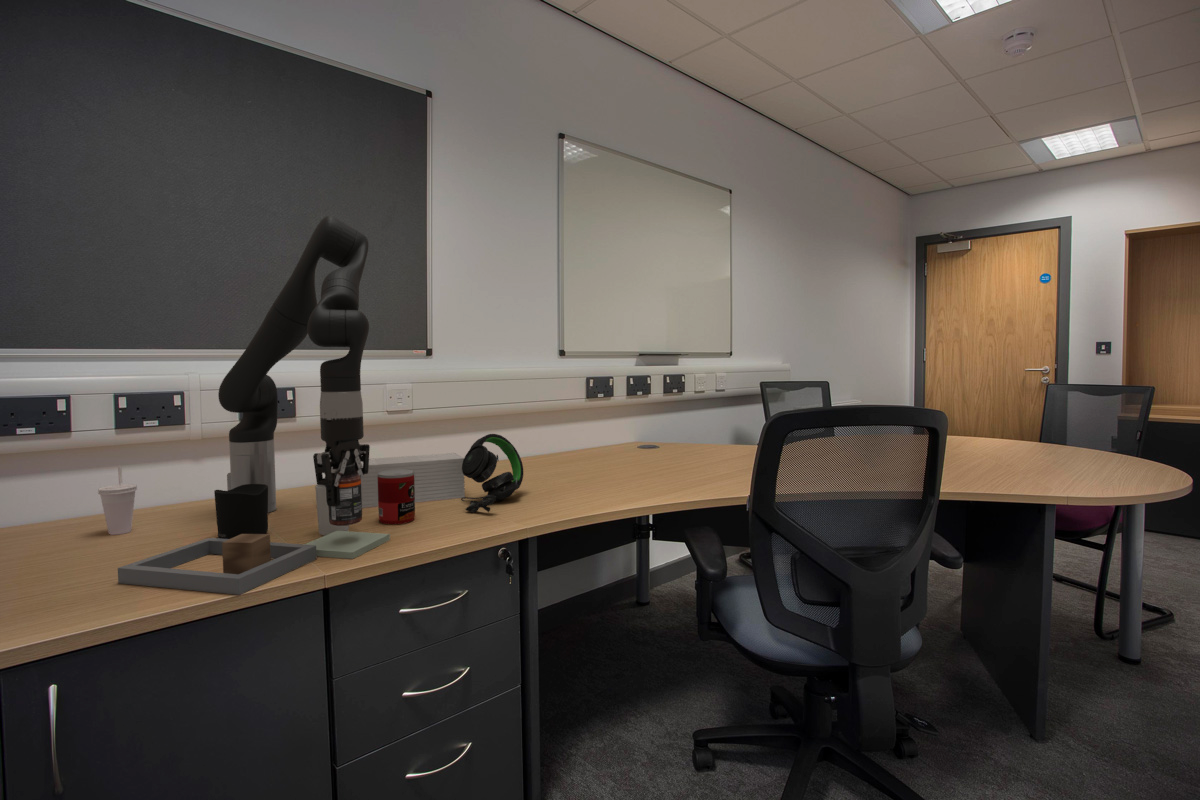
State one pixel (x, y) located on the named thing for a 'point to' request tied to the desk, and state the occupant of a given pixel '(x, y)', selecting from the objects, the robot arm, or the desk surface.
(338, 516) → the supplement bottle
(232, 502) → the pen holder
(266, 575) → the parts tray
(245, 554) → the walnut block
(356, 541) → the green board
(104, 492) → the smoothie
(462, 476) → the grey ridged block
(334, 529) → the grey cup
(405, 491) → the canned food
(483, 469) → the headset
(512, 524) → the desk surface
